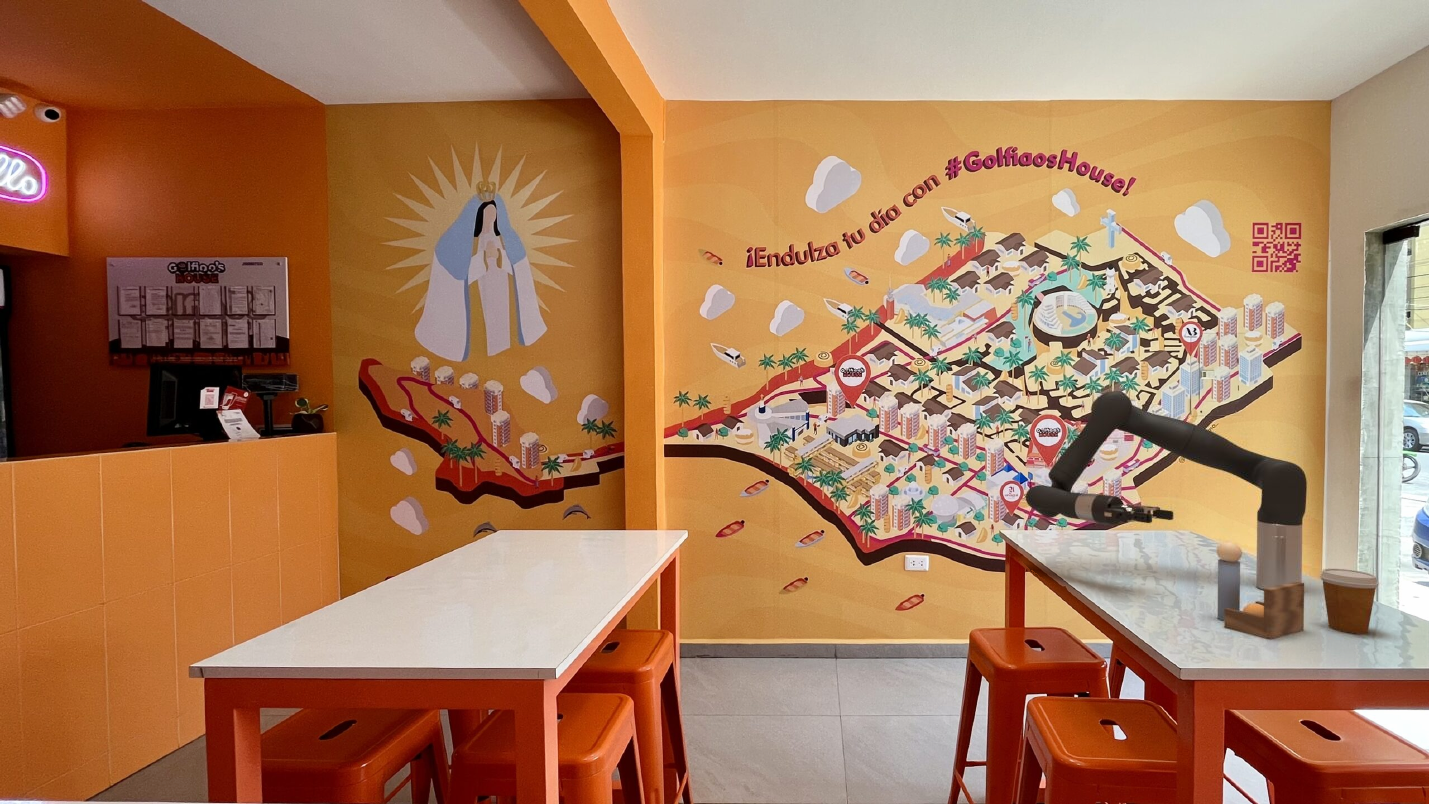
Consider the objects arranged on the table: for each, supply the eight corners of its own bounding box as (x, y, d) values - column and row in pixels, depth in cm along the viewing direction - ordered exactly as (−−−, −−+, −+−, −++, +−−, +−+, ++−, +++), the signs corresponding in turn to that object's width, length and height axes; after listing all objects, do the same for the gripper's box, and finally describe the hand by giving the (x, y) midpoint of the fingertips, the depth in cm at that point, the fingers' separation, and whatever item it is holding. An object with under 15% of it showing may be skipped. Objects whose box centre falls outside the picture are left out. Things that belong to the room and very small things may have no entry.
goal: (1257, 619, 162) (1258, 574, 162) (1303, 630, 154) (1304, 583, 154) (1224, 627, 156) (1224, 580, 156) (1270, 639, 148) (1270, 590, 148)
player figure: (1223, 615, 164) (1224, 539, 164) (1245, 621, 160) (1246, 542, 160) (1211, 618, 162) (1212, 540, 162) (1233, 624, 158) (1234, 544, 158)
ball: (1278, 608, 154) (1273, 630, 155) (1253, 597, 159) (1248, 618, 160) (1265, 611, 152) (1259, 633, 153) (1239, 601, 156) (1234, 622, 157)
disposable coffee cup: (1354, 623, 159) (1355, 568, 159) (1390, 637, 150) (1391, 579, 150) (1307, 621, 160) (1308, 567, 160) (1340, 635, 151) (1341, 577, 150)
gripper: (1081, 496, 186) (1143, 503, 172) (1116, 492, 193) (1179, 499, 179) (1081, 525, 186) (1144, 535, 172) (1116, 520, 193) (1179, 530, 179)
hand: (1162, 517), depth 175 cm, fingers open, 8 cm apart
